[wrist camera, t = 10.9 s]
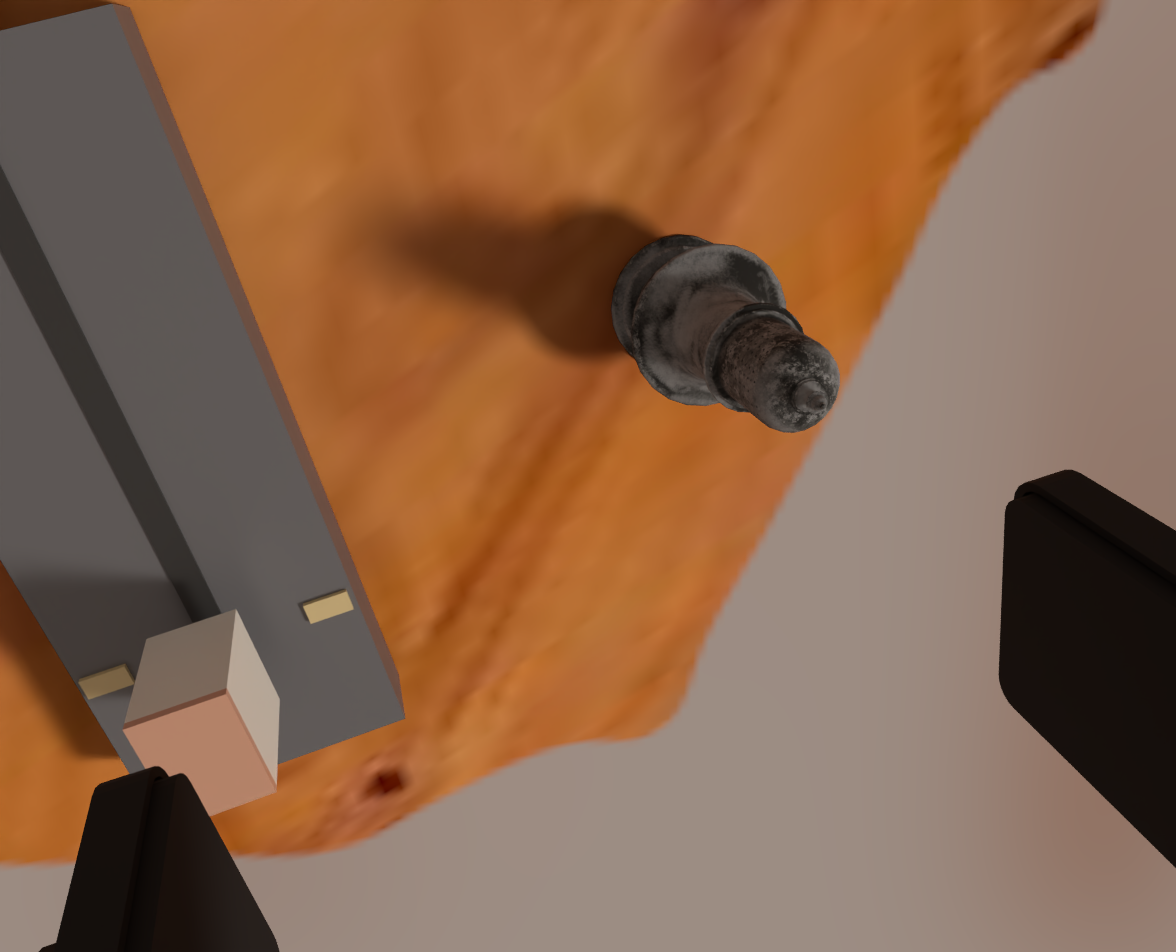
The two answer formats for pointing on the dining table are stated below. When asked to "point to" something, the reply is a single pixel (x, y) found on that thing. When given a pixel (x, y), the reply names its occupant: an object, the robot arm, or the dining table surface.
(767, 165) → the dining table surface
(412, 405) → the dining table surface
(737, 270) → the dark chess piece
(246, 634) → the fader
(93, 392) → the console
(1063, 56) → the dining table surface
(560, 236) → the dining table surface
